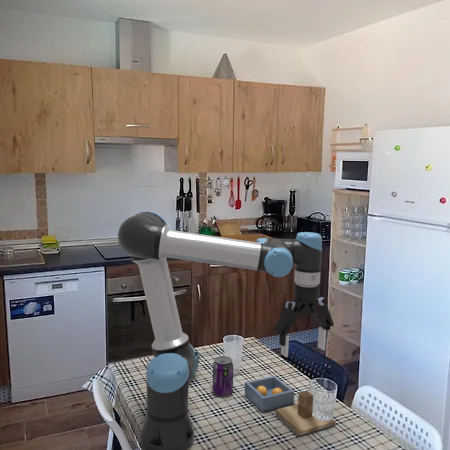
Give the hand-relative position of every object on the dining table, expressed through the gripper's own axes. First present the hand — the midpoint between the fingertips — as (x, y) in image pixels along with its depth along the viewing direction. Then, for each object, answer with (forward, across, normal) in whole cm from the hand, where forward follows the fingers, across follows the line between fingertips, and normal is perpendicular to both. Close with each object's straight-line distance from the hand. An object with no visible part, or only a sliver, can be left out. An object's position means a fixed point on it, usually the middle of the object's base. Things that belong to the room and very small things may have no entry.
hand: (303, 351), depth 137 cm
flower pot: (+23, -23, +40) cm, 51 cm away
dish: (+22, -3, +14) cm, 26 cm away
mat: (+22, +1, -1) cm, 22 cm away
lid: (+22, +1, -1) cm, 22 cm away
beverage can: (+23, -15, +25) cm, 37 cm away
